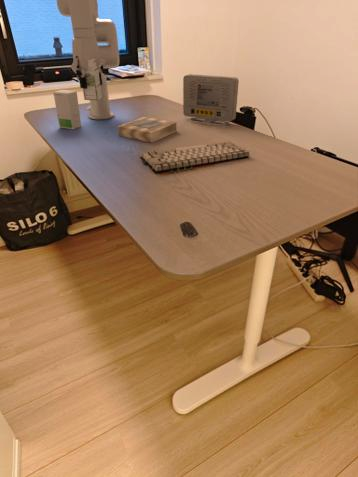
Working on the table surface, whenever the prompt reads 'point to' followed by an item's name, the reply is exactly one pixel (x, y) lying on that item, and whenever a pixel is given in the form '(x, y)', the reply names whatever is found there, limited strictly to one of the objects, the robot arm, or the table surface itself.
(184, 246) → the table surface
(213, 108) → the network device
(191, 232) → the block
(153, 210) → the table surface
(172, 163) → the mechanical keyboard
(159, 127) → the birch platform
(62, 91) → the skincare box
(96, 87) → the syrup box
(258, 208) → the table surface
